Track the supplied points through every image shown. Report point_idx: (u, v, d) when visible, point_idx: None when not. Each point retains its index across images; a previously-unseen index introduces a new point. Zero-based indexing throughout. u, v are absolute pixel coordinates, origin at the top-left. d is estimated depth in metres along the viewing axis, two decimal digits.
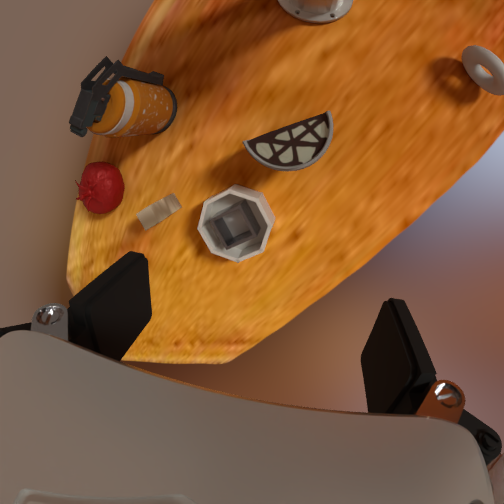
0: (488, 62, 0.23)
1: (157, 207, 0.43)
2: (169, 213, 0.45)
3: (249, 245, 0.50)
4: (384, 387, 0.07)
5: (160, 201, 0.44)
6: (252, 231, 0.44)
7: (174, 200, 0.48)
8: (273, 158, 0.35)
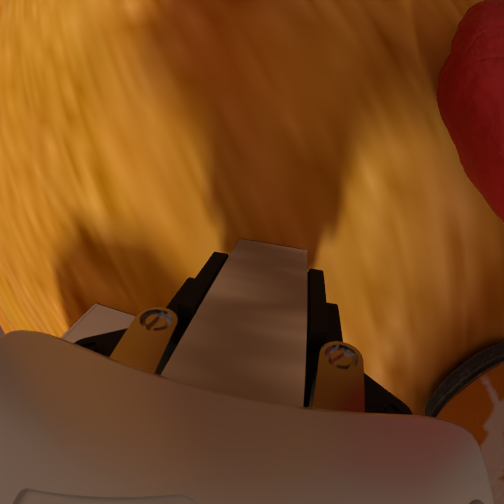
0: None
1: None
2: None
3: None
4: None
5: None
6: None
7: None
8: None
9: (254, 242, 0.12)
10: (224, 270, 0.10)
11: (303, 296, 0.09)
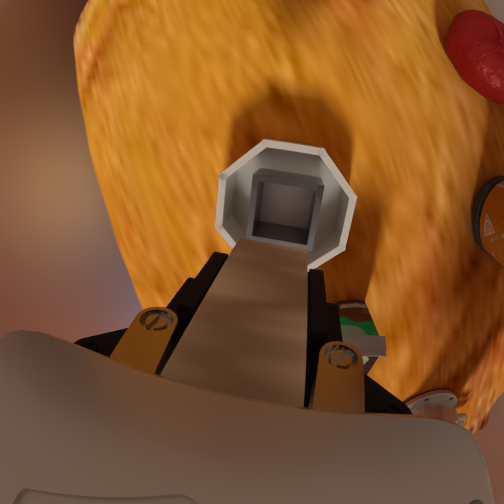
0: None
1: None
2: None
3: (236, 189, 0.27)
4: None
5: None
6: (258, 239, 0.24)
7: None
8: None
9: (254, 241, 0.12)
10: (224, 269, 0.10)
11: (303, 295, 0.09)
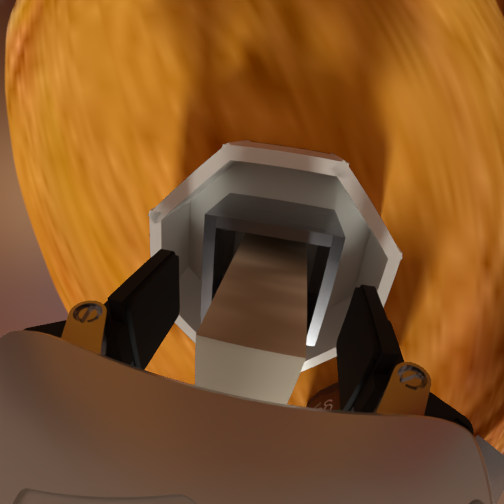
0: None
1: None
2: None
3: (193, 228, 0.16)
4: (352, 370, 0.08)
5: None
6: None
7: None
8: None
9: None
10: (242, 245, 0.13)
11: (303, 265, 0.12)
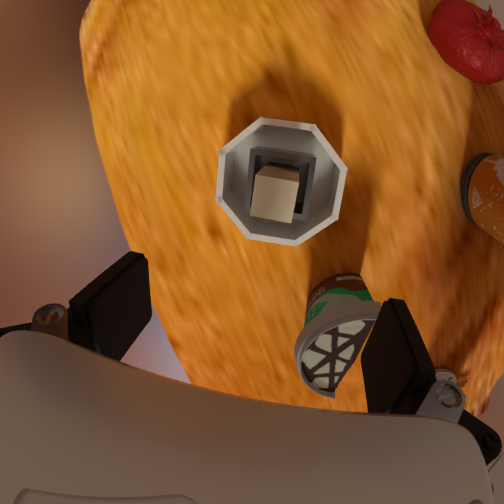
0: None
1: None
2: None
3: (235, 166, 0.28)
4: (384, 387, 0.07)
5: None
6: None
7: None
8: (334, 329, 0.24)
9: None
10: (267, 165, 0.25)
11: (297, 171, 0.24)
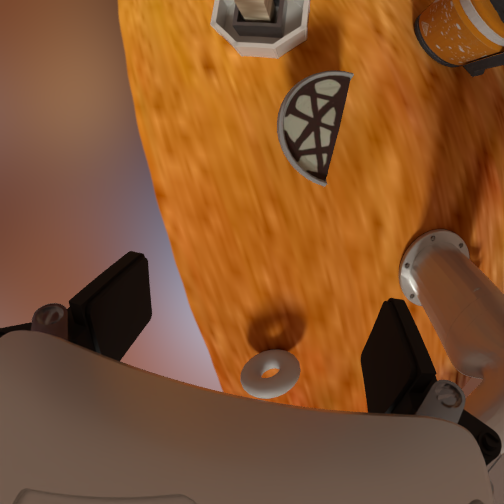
0: (276, 384, 0.39)
1: (257, 8, 0.21)
2: (244, 15, 0.23)
3: (227, 16, 0.27)
4: (384, 387, 0.07)
5: (265, 14, 0.23)
6: (241, 23, 0.24)
7: None
8: (311, 89, 0.23)
9: None
10: None
11: (272, 0, 0.23)
